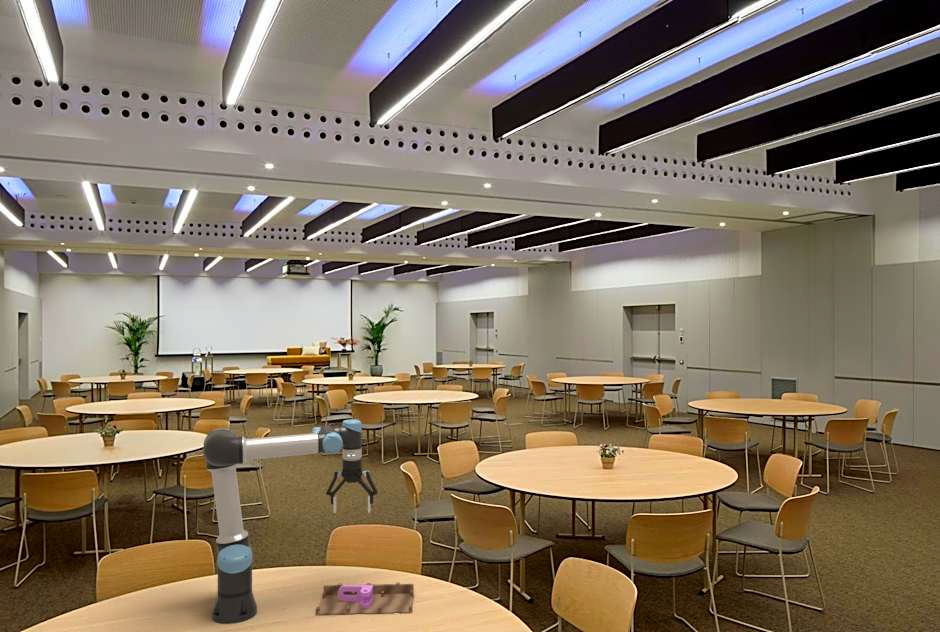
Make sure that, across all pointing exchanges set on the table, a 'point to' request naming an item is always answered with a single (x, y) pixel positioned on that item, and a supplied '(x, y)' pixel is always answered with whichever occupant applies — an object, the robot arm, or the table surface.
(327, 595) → the ledge
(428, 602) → the table surface
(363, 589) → the bracket
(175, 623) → the table surface
